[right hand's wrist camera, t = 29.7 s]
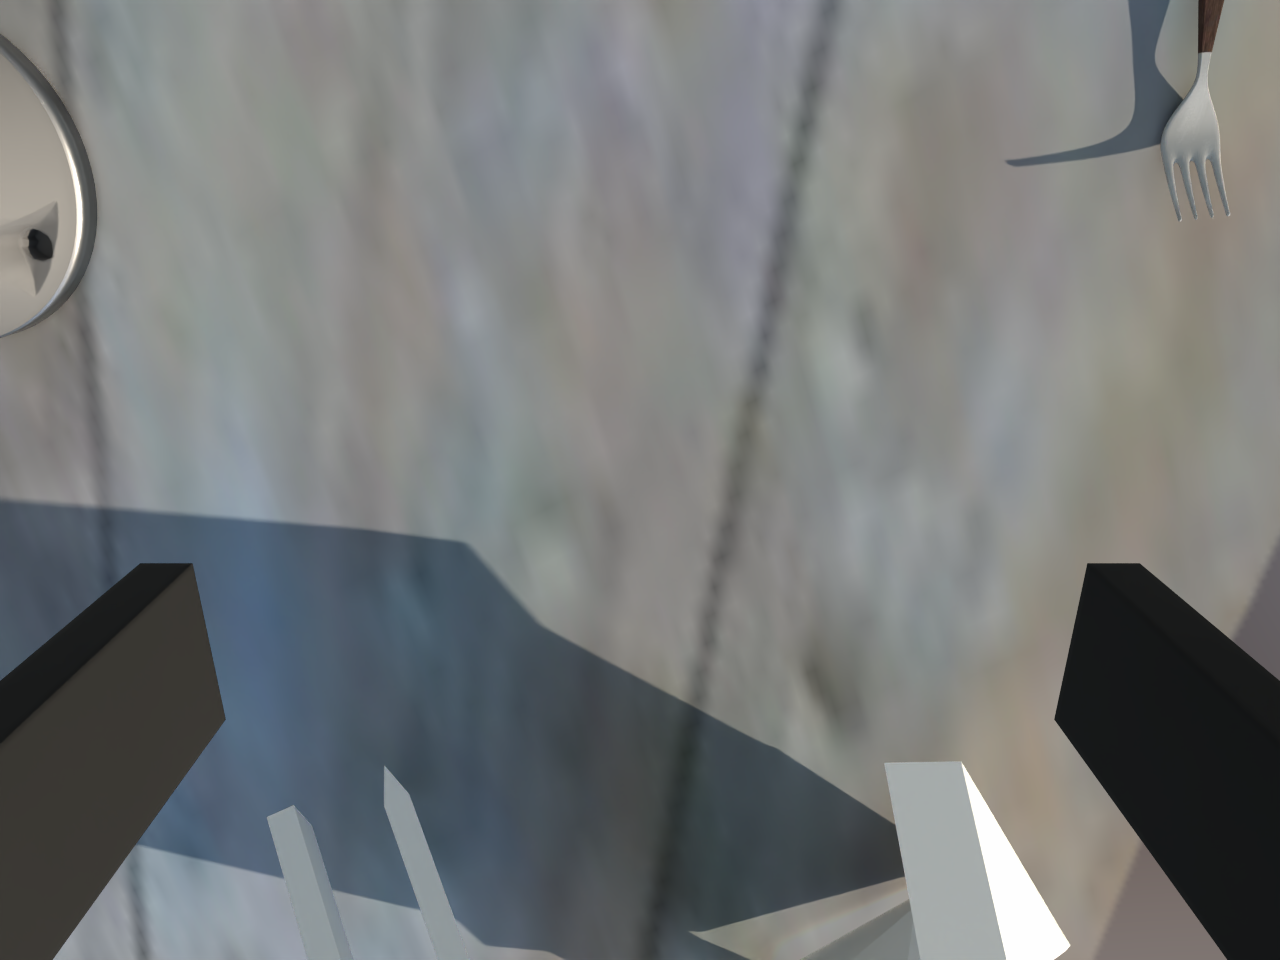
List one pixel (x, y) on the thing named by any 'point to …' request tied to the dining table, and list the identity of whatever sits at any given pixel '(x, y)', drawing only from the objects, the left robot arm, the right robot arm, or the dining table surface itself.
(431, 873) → the white plastic object
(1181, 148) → the fork
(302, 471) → the dining table surface
